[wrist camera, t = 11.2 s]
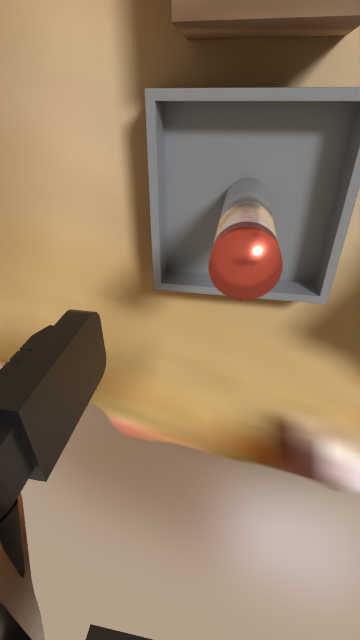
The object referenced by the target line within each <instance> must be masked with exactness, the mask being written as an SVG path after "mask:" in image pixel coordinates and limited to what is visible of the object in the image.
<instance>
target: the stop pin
mask: <svg viewBox="0 0 360 640" xmlns="http://www.w3.org/2000/svg"><path fill="white" fill-rule="evenodd" d="M208 268H209V275H210V278H211V281H212V283H213V284H214V286H215V287H216V288H217V289H218V290H219V291H220V292H221V293H223V294H224V295H226V296H228V297H230V298H233V299H237V300H251V299H256V298H259V297H261V296H263V295H265V294H267V293H268V292H269V291H271V290H272V289H273V288H274V287H275V285H276V284H277V283H278V281H279V279H280V277H281V274H282V268H283V262H282V256H281V252H280V247H279V243H278V238H277V234H276V229H275V225H274V220H273V216H272V211H271V207H270V202H269V198H268V193H267V190H266V188H265V187H264V185H263V184H262V183H261V182H260V181H258V180H256V179H253V178H243V179H240V180H238V181H236V182H235V183H233V184H232V185H231V186H230V188H229V189H228V191H227V194H226V197H225V201H224V205H223V209H222V213H221V217H220V220H219V224H218V228H217V232H216V236H215V240H214V244H213V248H212V252H211V255H210V259H209V265H208Z"/></svg>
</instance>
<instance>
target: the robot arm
mask: <svg viewBox="0 0 360 640" xmlns="http://www.w3.org/2000/svg"><path fill="white" fill-rule="evenodd" d="M105 366H106V352H105V346H104V339H103V333H102V327H101V321H100V317H99V314H98V313H97V312H90V311H80V310H68V311H67V312H66V313H65V314H64V315H63V316H62V317H61V318H60V320H59V321H58V322H57V323H56V324H55V325H54V326H51V325H49V326H47V327H46V328H44V329H42V330H41V331H39V332H37V333H35V334H34V335H32V336H31V337H30V338H29V339H28V340H27V341H26V343H25V344H24V345H23V346H22V347H21V348H20V351H17V352H16V353H15V354H14V355H13V357H12V358H11V359H10V362H7V363H6V364H5V365H4V366H3V367H2V368H1V369H0V640H45V639H44V632H43V625H42V620H41V615H40V610H39V606H38V603H37V600H36V597H35V593H34V589H33V584H32V578H31V570H30V561H29V552H28V544H27V535H26V527H25V517H24V509H23V500H22V495H21V493H20V492H21V490H22V489H23V487H24V485H25V484H26V482H27V480H28V479H33V480H39V481H45V482H46V481H47V479H48V477H49V475H50V473H51V472H52V470H53V468H54V466H55V464H56V462H57V461H58V459H59V457H60V455H61V453H62V451H63V449H64V448H65V446H66V444H67V442H68V440H69V438H70V436H71V434H72V433H73V431H74V429H75V427H76V425H77V423H78V422H79V420H80V418H81V416H82V414H83V412H84V410H85V408H86V407H87V405H88V403H89V401H90V399H91V397H92V395H93V394H94V392H95V390H96V388H97V386H98V384H99V382H100V381H101V379H102V377H103V374H104V371H105ZM86 640H152V639H148V638H144V637H140V636H136V635H132V634H128V633H124V632H120V631H115V630H112V629H107V628H103V627H99V626H95V625H90V628H89V631H88V634H87V638H86Z"/></svg>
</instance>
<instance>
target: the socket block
mask: <svg viewBox="0 0 360 640" xmlns="http://www.w3.org/2000/svg"><path fill="white" fill-rule="evenodd" d="M171 22H172V23H173V24H174V25H175V26H176V27H177V28H178V30H179V31H180V32H181V33H182V34H183V35H184V36H185V37H186V38H187V39H188V40H192V39H229V38H267V37H305V36H343V35H347V34H349V33H350V32H351V31H353V30H354V29H356V28H357V27H358V26H360V0H171Z"/></svg>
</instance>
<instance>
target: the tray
mask: <svg viewBox="0 0 360 640" xmlns="http://www.w3.org/2000/svg"><path fill="white" fill-rule="evenodd" d="M145 109H146V131H147V153H148V175H149V197H150V218H151V240H152V262H153V284H154V290H165V291H177V292H189V293H200V294H212V295H224V294H223V293H221V292H220V291H219V290H218V289H217V288H216V287H215V286H214V284H213V283H212V281H211V278H210V275H209V268H208V265H209V259H210V255H211V252H212V248H213V244H214V240H215V236H216V232H217V228H218V224H219V220H220V217H221V213H222V209H223V205H224V201H225V197H226V194H227V191H228V189H229V188H230V186H231V185H232V184H233V183H235V182H236V181H238V180H240V179H243V178H253V179H256V180H258V181H260V182H261V183H262V184H263V185H264V187H265V188H266V190H267V193H268V198H269V202H270V207H271V211H272V216H273V220H274V225H275V229H276V234H277V238H278V243H279V247H280V252H281V256H282V262H283V268H282V274H281V277H280V279H279V281H278V283H277V284H276V285H275V287H274V288H273V289H272V290H271V291H269V292H268V293H267V294H265V295H263V296H261V297H259V299H271V300H283V301H295V302H306V303H318V304H327V301H328V297H329V294H330V290H331V287H332V283H333V280H334V276H335V273H336V269H337V265H338V262H339V258H340V255H341V251H342V248H343V244H344V241H345V237H346V233H347V230H348V226H349V223H350V219H351V216H352V212H353V209H354V205H355V202H356V198H357V194H358V191H359V187H360V87H291V88H145ZM224 296H226V295H224Z"/></svg>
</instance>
